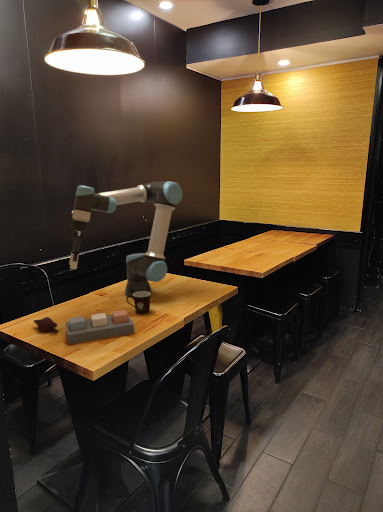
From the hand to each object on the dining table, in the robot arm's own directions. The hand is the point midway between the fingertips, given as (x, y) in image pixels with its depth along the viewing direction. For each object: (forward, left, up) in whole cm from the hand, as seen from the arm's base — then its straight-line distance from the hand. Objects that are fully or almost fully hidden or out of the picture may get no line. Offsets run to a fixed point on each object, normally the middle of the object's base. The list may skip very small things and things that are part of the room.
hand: (72, 266), depth 167 cm
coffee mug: (-30, +1, -27) cm, 40 cm away
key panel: (-8, +18, -27) cm, 33 cm away
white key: (-8, +18, -23) cm, 30 cm away
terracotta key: (-17, +18, -23) cm, 33 cm away
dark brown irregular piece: (+14, +6, -27) cm, 31 cm away
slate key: (+1, +18, -23) cm, 29 cm away
